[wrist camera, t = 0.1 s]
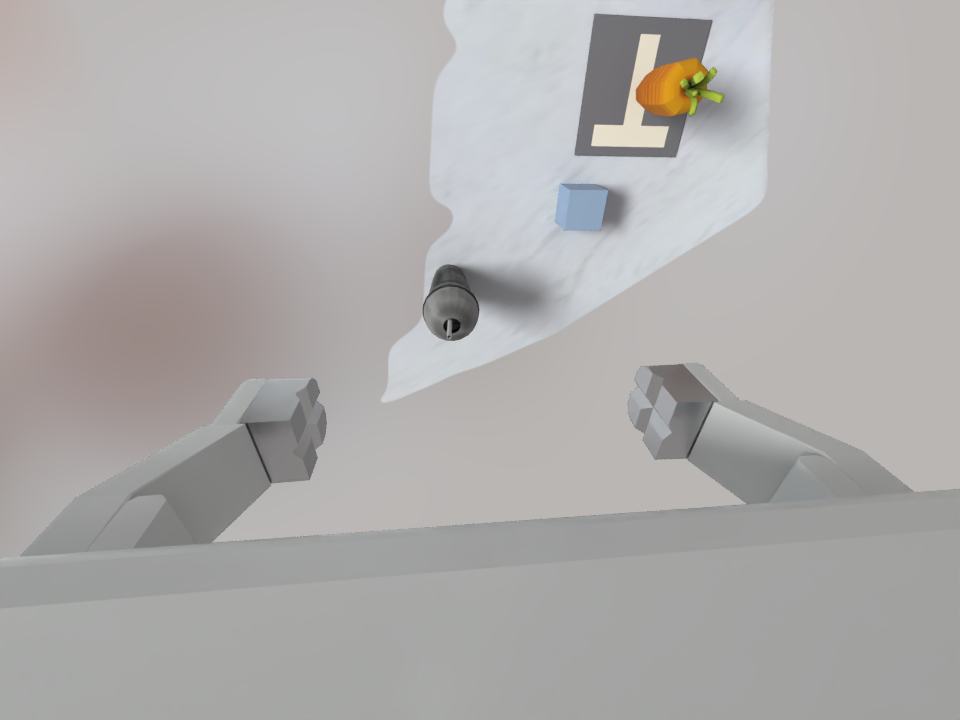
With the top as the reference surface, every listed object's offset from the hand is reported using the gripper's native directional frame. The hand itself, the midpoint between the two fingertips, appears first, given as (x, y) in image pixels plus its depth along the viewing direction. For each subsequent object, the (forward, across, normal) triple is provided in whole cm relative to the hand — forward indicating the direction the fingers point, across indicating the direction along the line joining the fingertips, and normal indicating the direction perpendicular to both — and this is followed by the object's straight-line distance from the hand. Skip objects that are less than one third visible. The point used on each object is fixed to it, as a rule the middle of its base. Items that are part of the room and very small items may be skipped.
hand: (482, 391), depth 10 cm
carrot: (+48, -24, -8) cm, 54 cm away
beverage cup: (+48, 0, +15) cm, 51 cm away
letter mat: (+48, -24, -9) cm, 54 cm away
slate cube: (+48, -18, +4) cm, 51 cm away
